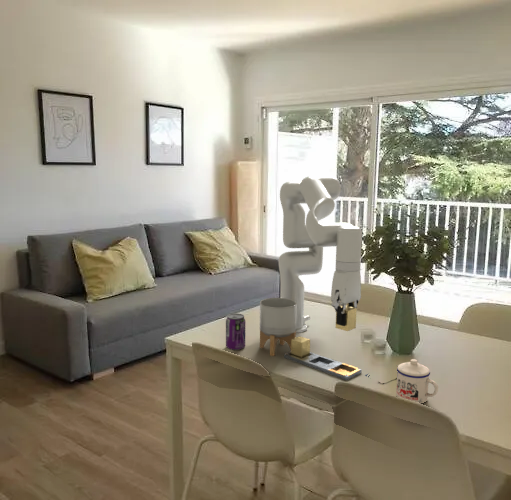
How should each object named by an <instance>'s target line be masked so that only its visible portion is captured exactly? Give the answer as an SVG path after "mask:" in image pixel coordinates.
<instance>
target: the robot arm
mask: <svg viewBox="0 0 511 500" xmlns="http://www.w3.org/2000/svg"><path fill="white" fill-rule="evenodd" d="M341 190H342V186H341V183H340V181H339V179H338V177H337V178H336V177H335V176H333V175H309V176H306V177H305V178H303V179H302V180H292V181H291V180H290V181H286V182H284V183H283V184H282V185H281V186H280V190H279V199H280V200H279V201H280V205H281V208H282V213H283V214H282V215H283V216H282V218H283V219H282V220H283V222H282V241H283V246H285V248H289V249H308V250H294V251H286V252H283V253H282V254H281V255H279V257H278V270H279V278H280V287H279V288H280V297H279V298H287V299H291V300H294V301H296V303H297V313H296V334H299V333H304V332H305V331H307V329H308V326H307V324H306V323H305V322H306V321H309V320H311V316H310V315H308V314H307V315H304V314H305V311H304V310H305V285H304V283H303V281H302V280H301V279H300V277H299V276H308V275H317V274H319V273H320V272H321V270H322V269H323V268H322V267H323V259H324V257H323V256H324V255H323V254H324V253H323V252H324V248H326V247H327V248H328V247H329V248H330V247H336V250H335V251H336V252H335V271H334V272H333V277H332V283H331V292H330V300H331V305H330V306H331V307H333V309H334V311H335V325H336V324H338V325H341V326H345V325H346V313H345V308H346V306H350V307H354V308H358V304H359V302H360V300H361V299H362V295H361V294H362V293H361V292H362V277H361V264H362V263H361V261H362V257H361V256H362V238H363V230H362V229H361V227H359V226H355V225H353V224H351V223H349V222H324V223H323V222H320V221H322V220H323V219H325V218H327V217H329V216H330V215H331V214H332V213H333V211H334V209H335V205H336V204H335V200H338V198H339V196H340V195H341V192H342V191H341ZM302 204H306V205H307V207H308V209H309V210H308V211H307V212H308V213H307V214H306V211H305V209H304V207H303V206H302ZM341 306H342V308H341ZM336 312H337V313H336Z"/></svg>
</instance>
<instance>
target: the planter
mask: <svg viewBox="0 0 511 500" xmlns="http://www.w3.org/2000/svg"><path fill="white" fill-rule="evenodd" d="M296 313H297V303H296V301H294V300H291V299H287V298H280V297H268V298H264V299H262V300H260V301H259V348H260V349H264V348H265V345H266V343H267V341H268V340H269V356H270V357H275V356H276V349H277V345H278V341H279V345H280V346H284V345H285V343H287V345H288V346H289V349H290V350H291V340H292V339H294V338H297V333H296Z"/></svg>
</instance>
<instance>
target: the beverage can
mask: <svg viewBox="0 0 511 500" xmlns="http://www.w3.org/2000/svg"><path fill="white" fill-rule="evenodd" d="M225 347H226V348H227V349H229V350H231V351H240V350H242V349H244V348H246V318H245V314H243V313H230V314H227V315H226V319H225Z"/></svg>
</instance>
